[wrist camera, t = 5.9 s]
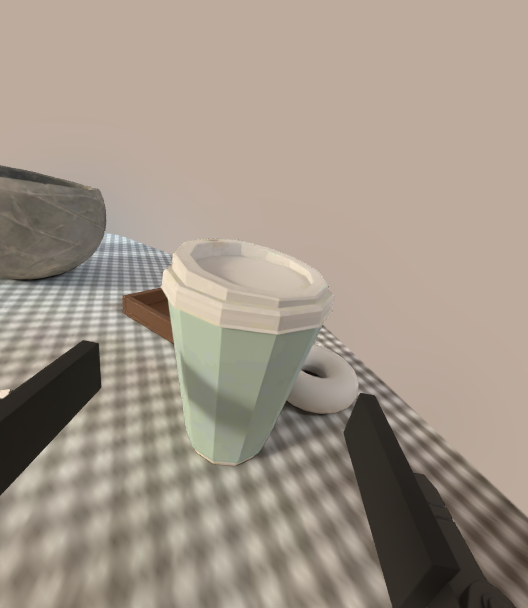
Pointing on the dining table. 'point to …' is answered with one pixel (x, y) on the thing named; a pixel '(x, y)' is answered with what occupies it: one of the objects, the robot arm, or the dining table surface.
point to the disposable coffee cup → (239, 339)
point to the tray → (150, 311)
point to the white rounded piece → (4, 393)
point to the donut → (324, 383)
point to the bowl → (46, 224)
